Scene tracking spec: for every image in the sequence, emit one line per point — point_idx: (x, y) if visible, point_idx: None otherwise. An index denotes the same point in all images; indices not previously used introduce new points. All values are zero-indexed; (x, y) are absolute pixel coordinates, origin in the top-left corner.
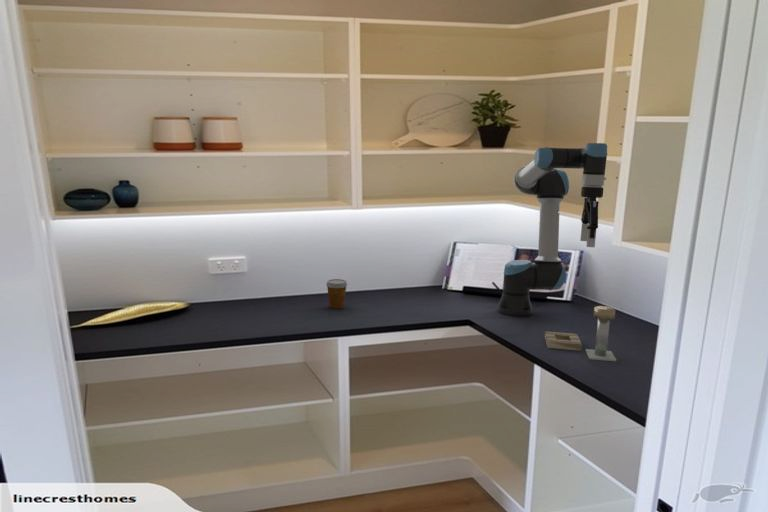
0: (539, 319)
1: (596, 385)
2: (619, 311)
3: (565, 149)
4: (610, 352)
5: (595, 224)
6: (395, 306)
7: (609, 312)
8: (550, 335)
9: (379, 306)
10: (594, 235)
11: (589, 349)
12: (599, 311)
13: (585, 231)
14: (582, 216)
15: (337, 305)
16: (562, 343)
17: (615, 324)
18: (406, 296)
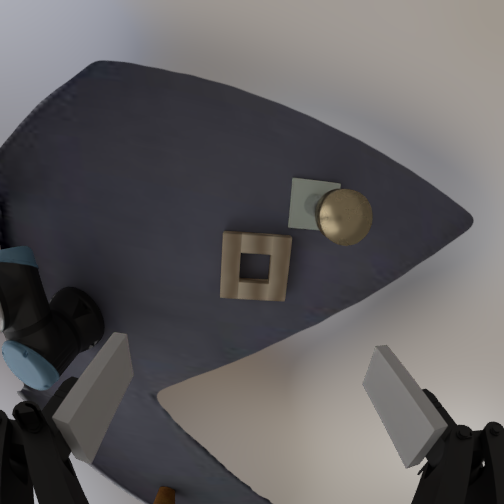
0: (106, 280)
1: (426, 249)
2: (35, 111)
3: None
4: (301, 181)
5: (467, 459)
6: (135, 455)
7: (370, 212)
8: (245, 291)
9: (144, 466)
10: (421, 400)
11: (290, 219)
12: (362, 236)
13: (104, 400)
14: (32, 491)
15: (174, 492)
16: (287, 274)
17: (104, 125)
18: None
